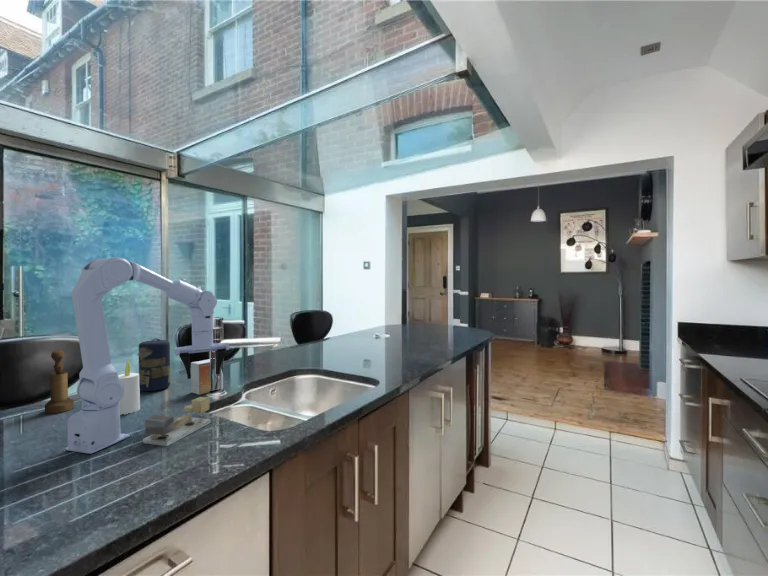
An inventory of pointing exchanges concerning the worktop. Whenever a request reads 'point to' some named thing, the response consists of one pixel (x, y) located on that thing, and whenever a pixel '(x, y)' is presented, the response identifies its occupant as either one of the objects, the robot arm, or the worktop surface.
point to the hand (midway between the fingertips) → (203, 376)
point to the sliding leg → (198, 406)
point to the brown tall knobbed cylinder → (58, 387)
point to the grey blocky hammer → (163, 424)
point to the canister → (154, 365)
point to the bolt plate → (177, 432)
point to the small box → (200, 377)
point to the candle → (130, 391)
